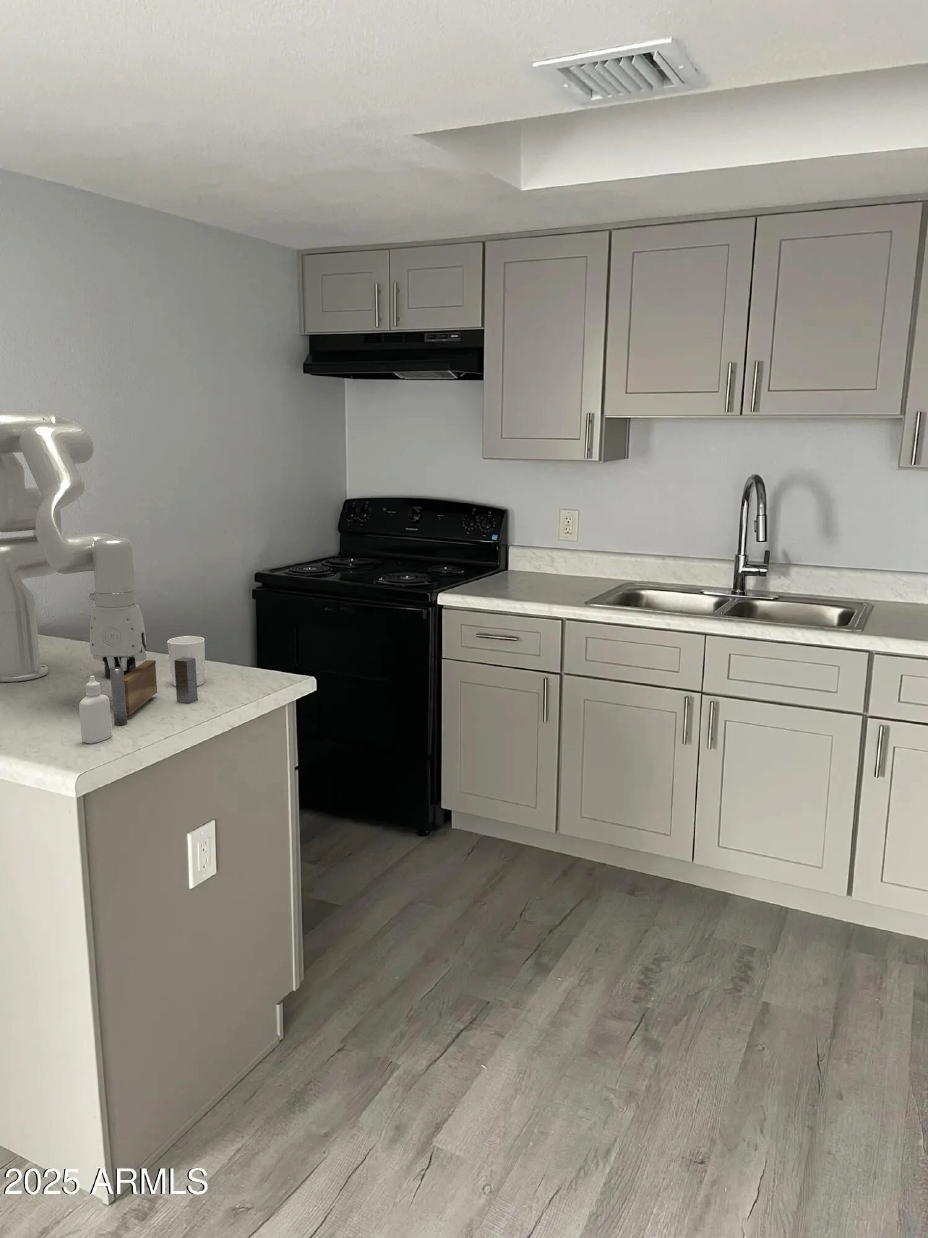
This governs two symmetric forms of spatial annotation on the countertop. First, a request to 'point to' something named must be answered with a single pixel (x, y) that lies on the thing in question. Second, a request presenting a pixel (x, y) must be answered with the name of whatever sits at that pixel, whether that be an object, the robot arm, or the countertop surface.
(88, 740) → the eye dropper bottle
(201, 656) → the white cup
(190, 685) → the post
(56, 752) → the countertop surface
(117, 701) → the grey glass test tube
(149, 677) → the brown wooden board
